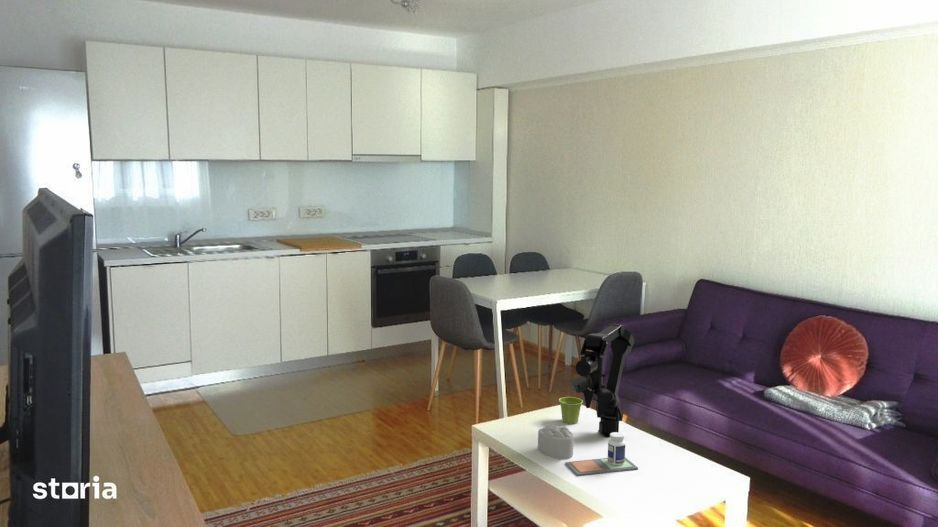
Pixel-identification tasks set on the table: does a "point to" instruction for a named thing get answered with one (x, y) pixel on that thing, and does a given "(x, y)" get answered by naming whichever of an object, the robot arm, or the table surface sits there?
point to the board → (598, 466)
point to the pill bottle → (616, 449)
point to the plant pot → (570, 409)
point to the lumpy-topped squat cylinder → (556, 442)
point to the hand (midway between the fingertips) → (593, 412)
